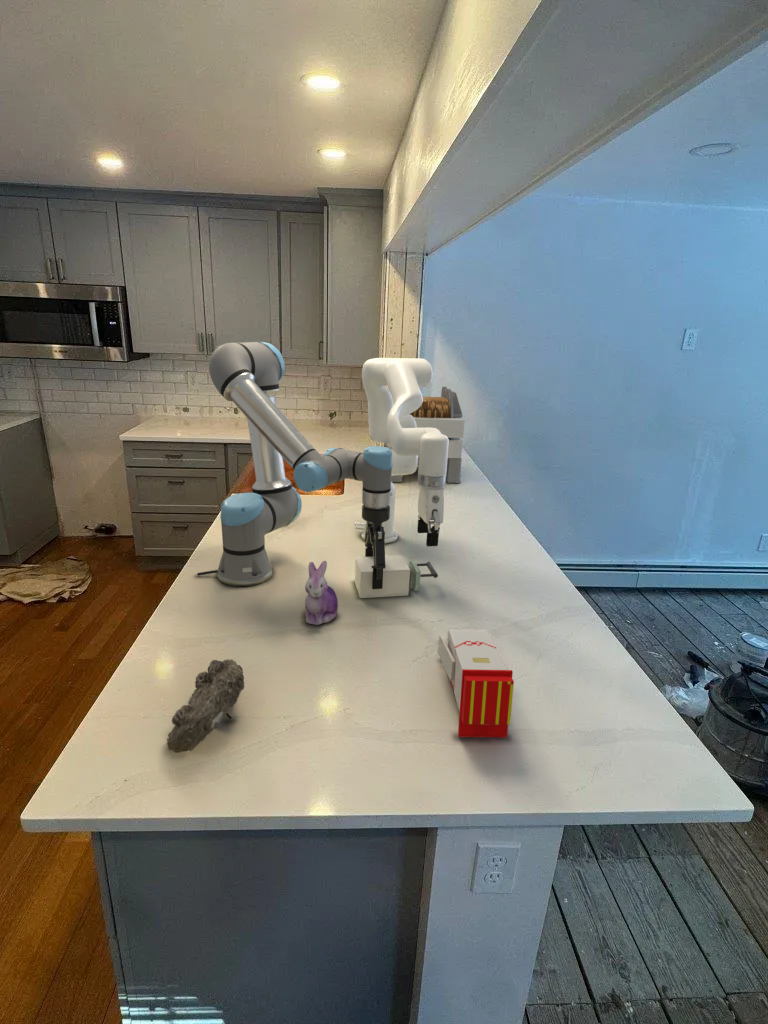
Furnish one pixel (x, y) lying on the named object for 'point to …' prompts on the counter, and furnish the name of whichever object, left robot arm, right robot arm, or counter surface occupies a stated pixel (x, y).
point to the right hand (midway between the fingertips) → (427, 539)
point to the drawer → (416, 572)
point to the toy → (478, 682)
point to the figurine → (319, 597)
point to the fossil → (206, 705)
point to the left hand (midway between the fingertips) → (373, 578)
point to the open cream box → (393, 577)
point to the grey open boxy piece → (442, 428)
